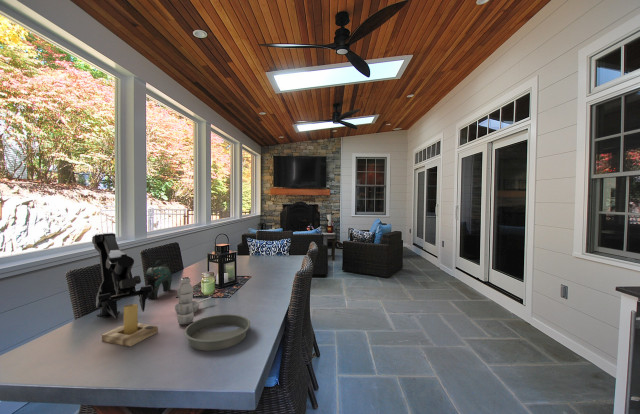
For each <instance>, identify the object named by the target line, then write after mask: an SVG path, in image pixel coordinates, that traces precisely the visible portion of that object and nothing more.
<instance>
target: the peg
mask: <svg viewBox="0 0 640 414" xmlns="http://www.w3.org/2000/svg"><path fill="white" fill-rule="evenodd" d="M138 308H139V305H138V304H136V303H132V304H127V305H125V306H123V325H124V334H126V335H131V334H133V333H135V332H137V331H138V323H139V322H138V321H139V319H138V317H139V315H138V314H139V313H138V312H139V310H138Z"/></svg>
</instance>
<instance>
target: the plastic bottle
mask: <svg viewBox="0 0 640 414" xmlns="http://www.w3.org/2000/svg"><path fill="white" fill-rule="evenodd" d="M176 292H177V299H178V303H179V311H178V313H177V318H176V320H177V323H178V324H179V325H181V326H185V325H186V326H187V325H190V324H191V323H193V322H194V319H195V315H194V314H195V313H193V307H192V301H193V300H194V298H193V297H194V287H193V285H192V284H191V277H190V276H185V277H181V278H180V285H179V287H178V288H177V291H176Z"/></svg>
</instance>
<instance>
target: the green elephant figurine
mask: <svg viewBox="0 0 640 414" xmlns="http://www.w3.org/2000/svg"><path fill="white" fill-rule="evenodd" d="M158 262H159V263H161V260H157V261H155V264H157V263H158ZM145 277H146V279H147V286H148V285H151V286H152V287H153V291H152V294H151V296H150V297H148V298H147V300H156V299H157V298H158V291H159V289H160V285H161V284H162V291H163V292H170V290H171V287H172V280H173V279H172V278H173V277H172V272H171V270H170V268H169V266H168V264H166V263H165V264H162V265H161V266H159V265H158V266H155V267H154V266H152V267H148V269H147V270H146V273H145Z"/></svg>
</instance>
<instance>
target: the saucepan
mask: <svg viewBox="0 0 640 414" xmlns="http://www.w3.org/2000/svg"><path fill="white" fill-rule="evenodd" d="M210 299H212V297H211V296H209V297H207V298H204V299H201V300H198V301H197V300H192V307H193V313H194V314H195V313H196V312H198V310H199V307H200V303H202V302H205V301H208V300H210ZM174 311H175V313H177V314H178V311H179V302H178V303H177V304H175V306H174Z"/></svg>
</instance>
